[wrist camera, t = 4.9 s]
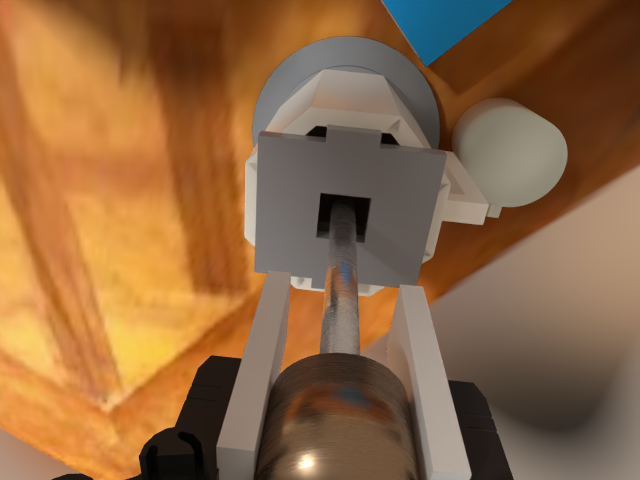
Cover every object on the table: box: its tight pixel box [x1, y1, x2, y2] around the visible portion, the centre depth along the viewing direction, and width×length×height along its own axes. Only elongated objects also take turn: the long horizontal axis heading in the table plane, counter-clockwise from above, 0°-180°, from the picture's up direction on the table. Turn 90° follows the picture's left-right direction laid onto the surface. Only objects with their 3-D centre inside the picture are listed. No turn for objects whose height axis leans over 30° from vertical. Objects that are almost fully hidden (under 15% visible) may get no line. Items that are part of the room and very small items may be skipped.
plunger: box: [254, 195, 420, 480], centre depth 16 cm, size 4×4×16 cm
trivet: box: [252, 36, 440, 149], centre depth 34 cm, size 14×14×1 cm
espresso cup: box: [451, 97, 568, 218], centre depth 32 cm, size 7×6×6 cm
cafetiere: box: [244, 65, 489, 296], centre depth 28 cm, size 10×13×14 cm
